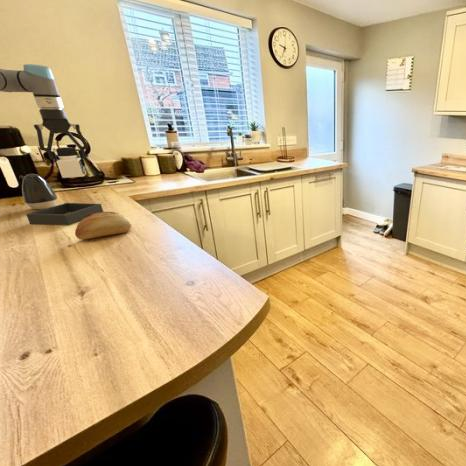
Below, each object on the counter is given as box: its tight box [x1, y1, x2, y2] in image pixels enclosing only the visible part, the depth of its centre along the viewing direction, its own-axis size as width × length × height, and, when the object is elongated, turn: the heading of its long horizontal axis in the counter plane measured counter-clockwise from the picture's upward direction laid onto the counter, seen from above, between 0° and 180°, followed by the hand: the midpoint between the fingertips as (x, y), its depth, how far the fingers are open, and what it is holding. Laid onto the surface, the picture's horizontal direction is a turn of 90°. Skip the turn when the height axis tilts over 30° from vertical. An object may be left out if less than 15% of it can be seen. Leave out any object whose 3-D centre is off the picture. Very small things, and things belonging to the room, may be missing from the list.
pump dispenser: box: [19, 173, 58, 211], centre depth 126 cm, size 10×10×15 cm
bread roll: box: [74, 211, 132, 240], centre depth 99 cm, size 10×15×8 cm, turn 137°
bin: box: [25, 202, 104, 226], centre depth 116 cm, size 16×16×4 cm
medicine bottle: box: [55, 146, 87, 179], centre depth 124 cm, size 7×7×12 cm
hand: (71, 166), depth 124 cm, fingers closed on medicine bottle, 8 cm apart
